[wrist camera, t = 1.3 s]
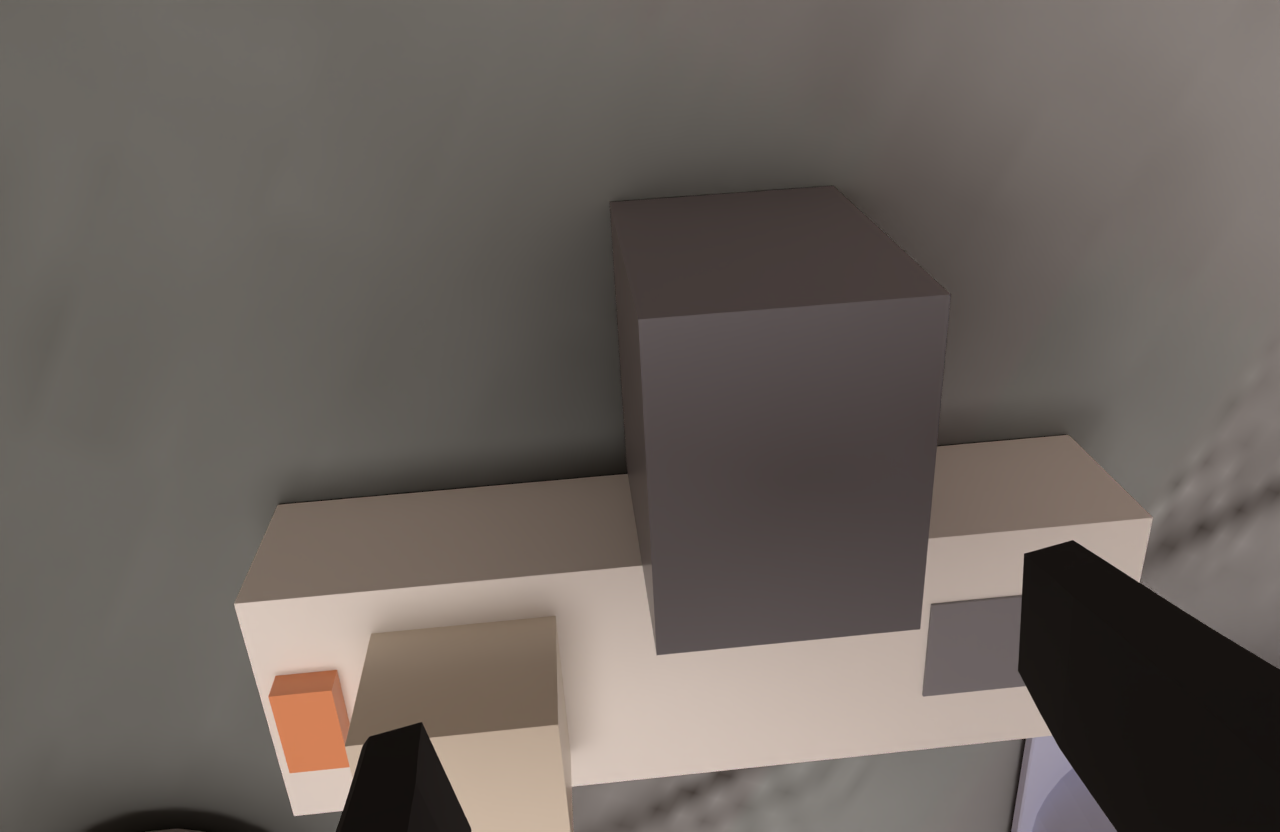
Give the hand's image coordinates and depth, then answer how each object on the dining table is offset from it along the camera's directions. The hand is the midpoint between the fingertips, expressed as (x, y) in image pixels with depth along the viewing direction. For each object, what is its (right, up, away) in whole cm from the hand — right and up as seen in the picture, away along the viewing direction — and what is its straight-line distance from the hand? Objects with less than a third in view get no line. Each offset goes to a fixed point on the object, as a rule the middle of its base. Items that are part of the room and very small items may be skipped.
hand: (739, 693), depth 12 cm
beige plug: (-4, -2, +9) cm, 10 cm away
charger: (+1, +4, +10) cm, 11 cm away
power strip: (0, 0, +12) cm, 12 cm away
